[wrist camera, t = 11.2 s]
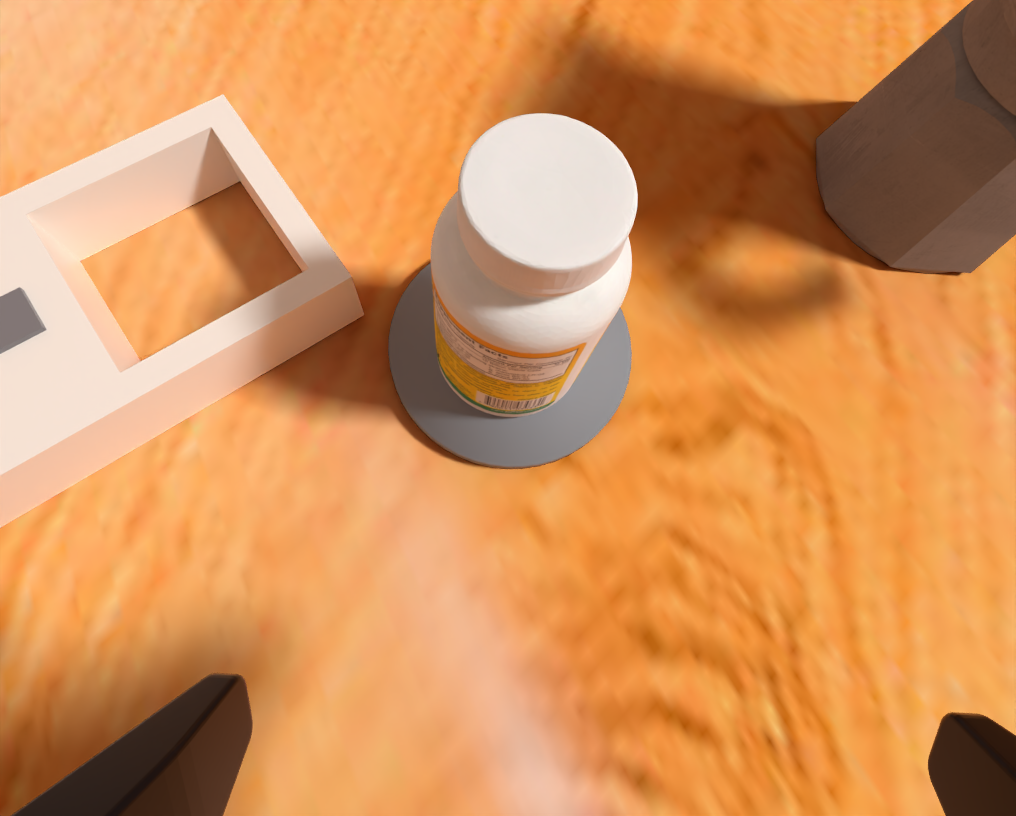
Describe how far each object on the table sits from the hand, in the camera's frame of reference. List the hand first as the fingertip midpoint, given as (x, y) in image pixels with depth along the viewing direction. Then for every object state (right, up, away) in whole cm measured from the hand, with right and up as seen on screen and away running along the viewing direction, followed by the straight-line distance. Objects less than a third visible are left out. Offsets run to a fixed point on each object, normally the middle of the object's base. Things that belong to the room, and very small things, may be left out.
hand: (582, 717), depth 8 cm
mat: (-1, +6, +15) cm, 16 cm away
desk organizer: (-15, +7, +14) cm, 22 cm away
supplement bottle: (-1, +6, +15) cm, 16 cm away
